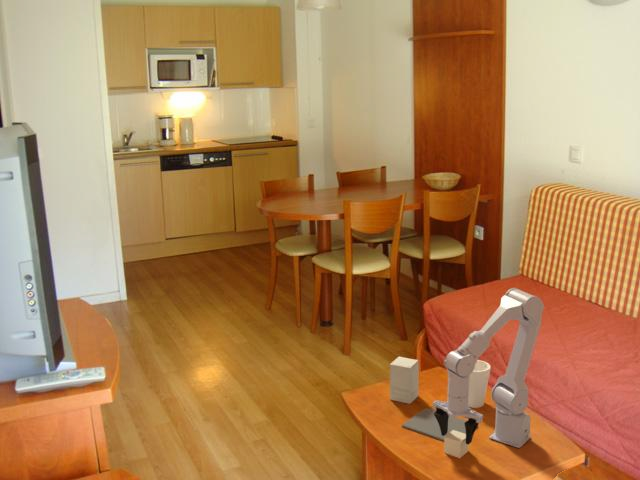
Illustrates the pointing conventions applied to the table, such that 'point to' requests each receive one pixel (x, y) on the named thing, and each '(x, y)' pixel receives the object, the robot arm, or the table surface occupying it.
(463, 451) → the cream cube
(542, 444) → the table surface
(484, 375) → the foam cup
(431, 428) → the charcoal mat
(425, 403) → the table surface
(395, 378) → the supplement box
